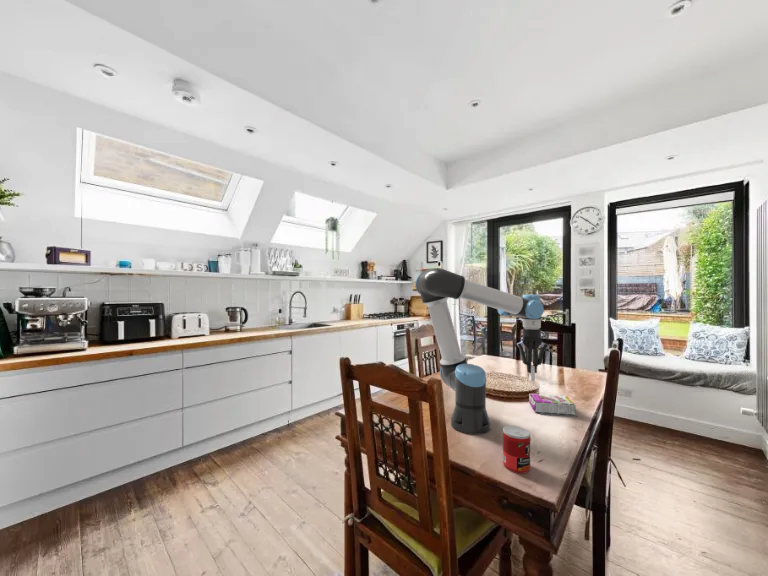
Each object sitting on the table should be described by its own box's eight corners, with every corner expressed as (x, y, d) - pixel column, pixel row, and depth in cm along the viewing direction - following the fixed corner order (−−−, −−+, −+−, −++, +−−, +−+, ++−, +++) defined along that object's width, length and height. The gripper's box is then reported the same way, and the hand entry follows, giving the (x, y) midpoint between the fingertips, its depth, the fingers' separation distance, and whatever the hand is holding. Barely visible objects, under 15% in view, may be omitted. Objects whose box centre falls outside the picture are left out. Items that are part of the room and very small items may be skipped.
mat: (540, 414, 140) (540, 413, 140) (530, 403, 154) (530, 402, 154) (577, 416, 138) (577, 415, 138) (563, 405, 152) (563, 404, 152)
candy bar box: (529, 392, 152) (566, 395, 149) (528, 402, 152) (566, 405, 149) (535, 401, 141) (576, 404, 138) (535, 412, 141) (575, 416, 138)
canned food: (521, 477, 93) (521, 439, 93) (497, 464, 100) (497, 429, 100) (535, 468, 98) (535, 432, 98) (511, 457, 104) (511, 423, 104)
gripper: (519, 329, 144) (519, 381, 144) (549, 329, 142) (550, 382, 142) (514, 327, 152) (514, 377, 151) (543, 327, 150) (543, 378, 150)
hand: (532, 379), depth 147 cm, fingers closed
